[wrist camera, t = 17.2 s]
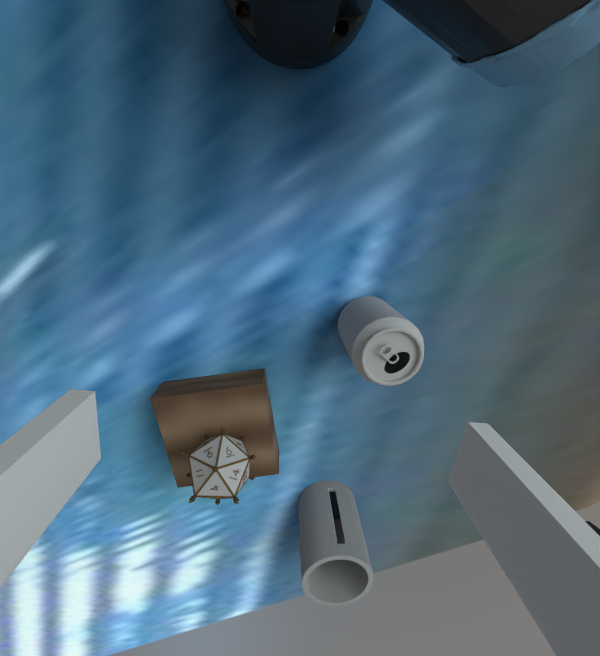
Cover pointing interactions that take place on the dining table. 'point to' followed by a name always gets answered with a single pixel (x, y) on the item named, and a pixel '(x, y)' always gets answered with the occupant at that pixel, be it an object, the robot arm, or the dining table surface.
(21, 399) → the dining table surface
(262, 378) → the walnut block
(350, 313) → the can
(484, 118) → the dining table surface
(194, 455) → the game die
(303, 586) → the cup
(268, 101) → the dining table surface
